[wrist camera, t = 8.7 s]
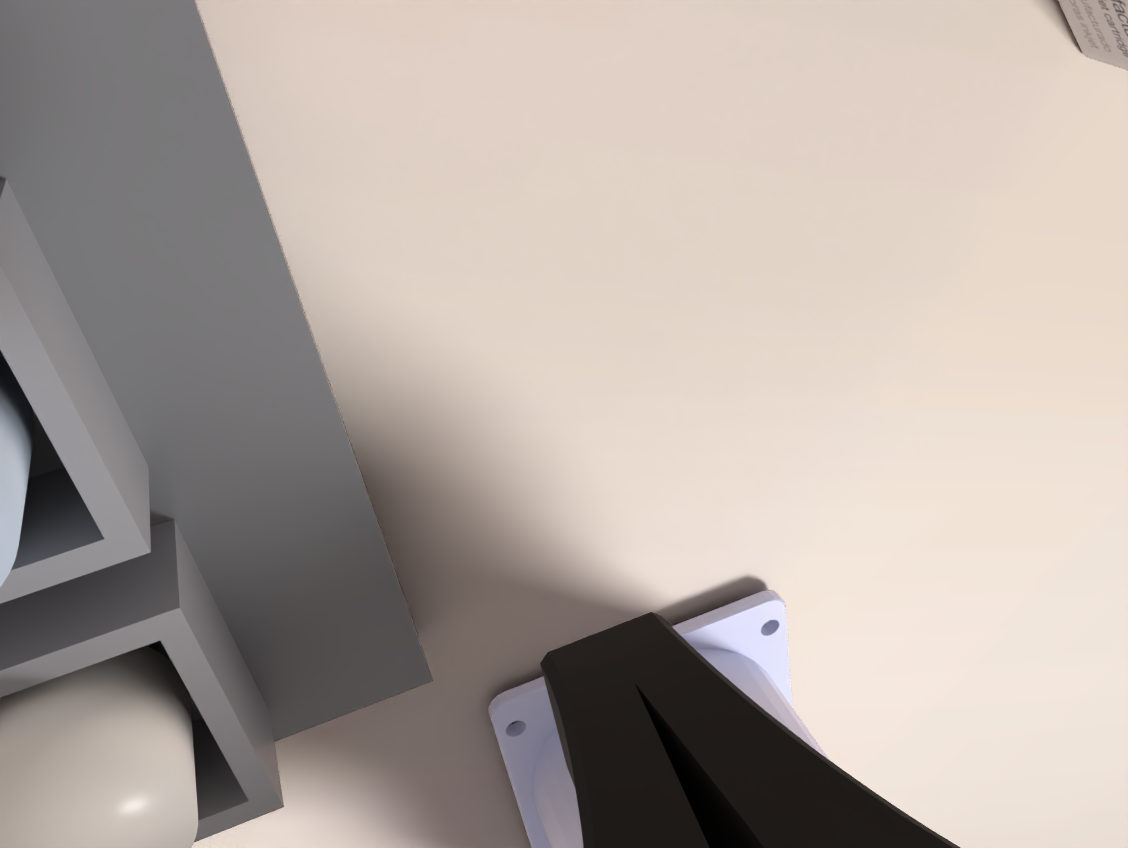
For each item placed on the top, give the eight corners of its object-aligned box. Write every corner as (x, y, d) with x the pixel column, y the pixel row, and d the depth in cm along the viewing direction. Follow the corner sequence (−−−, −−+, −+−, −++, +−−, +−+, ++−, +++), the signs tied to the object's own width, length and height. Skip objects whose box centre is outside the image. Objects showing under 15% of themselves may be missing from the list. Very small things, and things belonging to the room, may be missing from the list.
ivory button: (218, 739, 20) (229, 859, 18) (27, 812, 20) (15, 945, 18) (146, 607, 18) (148, 724, 16) (-69, 683, 18) (-98, 815, 16)
